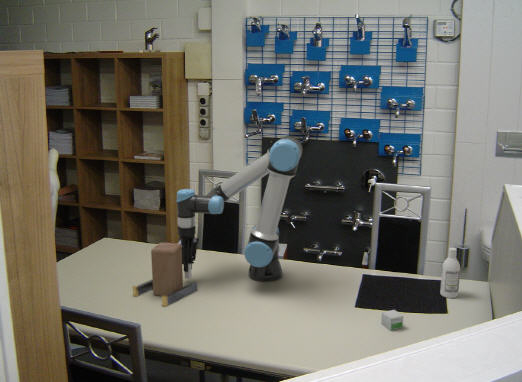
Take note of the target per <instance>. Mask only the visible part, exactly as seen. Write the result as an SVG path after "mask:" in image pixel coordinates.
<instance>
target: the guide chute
mask: <svg viewBox="0 0 522 382" xmlns="http://www.w3.org/2000/svg"><path fill="white" fill-rule="evenodd" d="M151 290H152V291H153V278H152V279H149V280H148V281H147V280H146V281H145V282H143V283H141V284H137V285H133V286H132V296H134V297H136V298H137V297H139V296H140V295H143V294H145V293H147V292H149V291H151ZM197 291H198V282H196V281H193V282H191V283H189V284H187V285H185V286H183V288H180V289H178V290H176V291H174V292H172V293H170V294H168V295H163V296H161V304H162V306H163V307H165V308H166V307H168V306H169V305H171V304H173V303H175V302H177V301H179V300H181V299H183V298H185V297H187V296H189V295H191V294H193V293H196V292H197Z"/></svg>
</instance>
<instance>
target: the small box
mask: <svg viewBox="0 0 522 382" xmlns="http://www.w3.org/2000/svg"><path fill="white" fill-rule="evenodd" d="M380 323H381V325H382V326H383V327H385V328H386V329H387V330H389V331H394V330H398V329H402V328H403V327H404V326H403V325H404V315H403V314H402V313H400V312H398V311H397V310H396V309H392V310H387V311H383V312H381V322H380Z"/></svg>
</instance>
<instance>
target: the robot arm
mask: <svg viewBox="0 0 522 382" xmlns="http://www.w3.org/2000/svg"><path fill="white" fill-rule="evenodd" d="M302 155H303V145H302V142H301V141H300V140H299V139H297V138H296V137H294V136H293V135H292V136H290V135H286V136H283V137H280V138H279V139H278V140H277V141H276V142H274V144H273V145H272V146H271V147H270V148H268V149H267V152H266V153H264V154H263V155H261V156H260V157H259V158H258V159H256V160H254V161H253V162H251V163H250V164H249V165H247V166H246V167H244V168H243V169H241V170H239V171H238V172H237V173H235V174H234V175H232V176H231V177H229V178H228V179H226V180H224V182H222V183H220V184H219V185H218V186H216V187H214V188H212V189H210V191H209V192H208V193H207V194H206V195H203V194H202V195H201V194H200V195H199V194H196V192H195V190H194V189H190V188H183V189H179V190H178V191H177V192H176V210H177V211H176V213H177V216H176V218H177V234H178V237H179V239H178V243H177V244H181V246H182V266H183V272H184V279H188V280H191V279H192V270H193V264H194V263H195V262H194V261H196V256H197V250H198V243H199V241H200V238H198V237H196V236H195V235H196V233H197V232H196V230H197V229H196V214H209V215H210V214H211V215H221V214H223V211H224V209H225V208H224V207H225V205H224V204H225V203H226V202H227V201H229V200H230V199H232V198H233V197H234V196H237V194H239V193H241V192H242V191H244V190H246V189H247V188H248V187H250V186H251V185H253V184H254V183H256V182H258V181H259V180H261V179H262V178H263V177H265V176H267V175H269V176H268V178H267V183H266V187H265V189H264V190H265V191H264V193H263V197H262V201H261V206H260V209H259V214H258V216H257V220H256V224H255V225H254V226H252V229H251V230H250V233H249V238H248V242H247V244H246V246H245V248H244V259H245V260H246V261H247V263H249V269H248V277H249V278H250V279H252V280H254V281H257V282H273V281H276V280H277V281H278V280H279V279H281V278H282V277H283V268H282V265H281V263H280V259H279V257H280V256H279V251H280V250H279V245H280V244H279V243H280V239H279V237H280V231H279V230H280V229H279V227H278V225H279V222H280V219H281V214H282V211H283V207H284V204H285V199H286V197H287V193H288V188H289V185H290V181H291V179H292V178H294V177H295V176H296V173H297V170H298V166H299V162H300V159H301V157H302Z"/></svg>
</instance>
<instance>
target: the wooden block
mask: <svg viewBox="0 0 522 382" xmlns="http://www.w3.org/2000/svg"><path fill="white" fill-rule="evenodd" d="M150 255H151V273H152V279H153V289H152V293H153V295H154V296H161V297H162V296H163V295H168V294H170V293H172V292H174V291H176V290H178V289H180V288H183V287H184V279H183V278H184V275H183V264H182V246H181V244H178V243H177V242H176V243H175V242H174V243H173V242H158V244H156V245H155V246H154V247H153V248H151V250H150Z"/></svg>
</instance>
